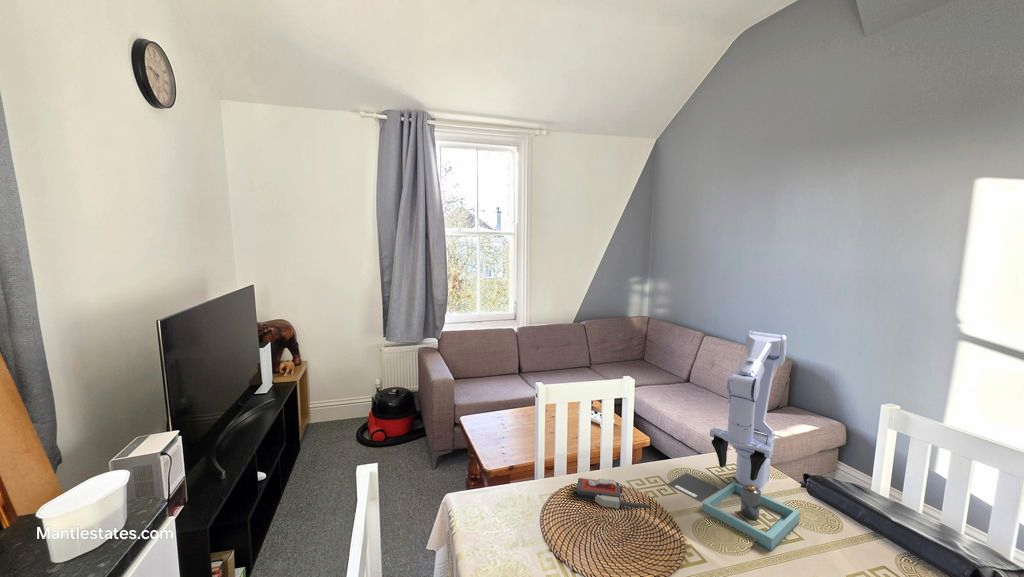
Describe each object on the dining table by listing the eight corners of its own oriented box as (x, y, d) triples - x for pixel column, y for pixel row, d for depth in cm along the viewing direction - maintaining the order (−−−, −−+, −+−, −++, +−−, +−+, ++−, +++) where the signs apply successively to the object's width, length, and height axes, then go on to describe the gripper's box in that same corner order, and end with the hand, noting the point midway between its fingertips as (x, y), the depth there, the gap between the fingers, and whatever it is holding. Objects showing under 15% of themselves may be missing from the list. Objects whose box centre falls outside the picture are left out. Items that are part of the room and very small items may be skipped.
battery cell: (744, 509, 106) (746, 480, 105) (761, 517, 102) (763, 487, 102) (737, 515, 103) (739, 485, 102) (754, 523, 100) (756, 493, 99)
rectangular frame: (732, 491, 114) (733, 481, 114) (799, 523, 101) (800, 511, 101) (702, 513, 104) (702, 502, 104) (771, 551, 92) (772, 538, 91)
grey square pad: (686, 476, 122) (686, 472, 122) (719, 492, 114) (720, 488, 114) (666, 487, 116) (666, 483, 116) (700, 505, 108) (700, 501, 108)
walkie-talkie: (571, 504, 109) (651, 514, 105) (572, 488, 108) (651, 498, 104) (573, 485, 117) (647, 494, 113) (574, 471, 117) (647, 479, 113)
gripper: (705, 416, 108) (702, 465, 109) (765, 436, 96) (761, 491, 98) (718, 409, 112) (715, 457, 114) (777, 428, 101) (773, 481, 102)
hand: (737, 472), depth 106 cm, fingers open, 7 cm apart
